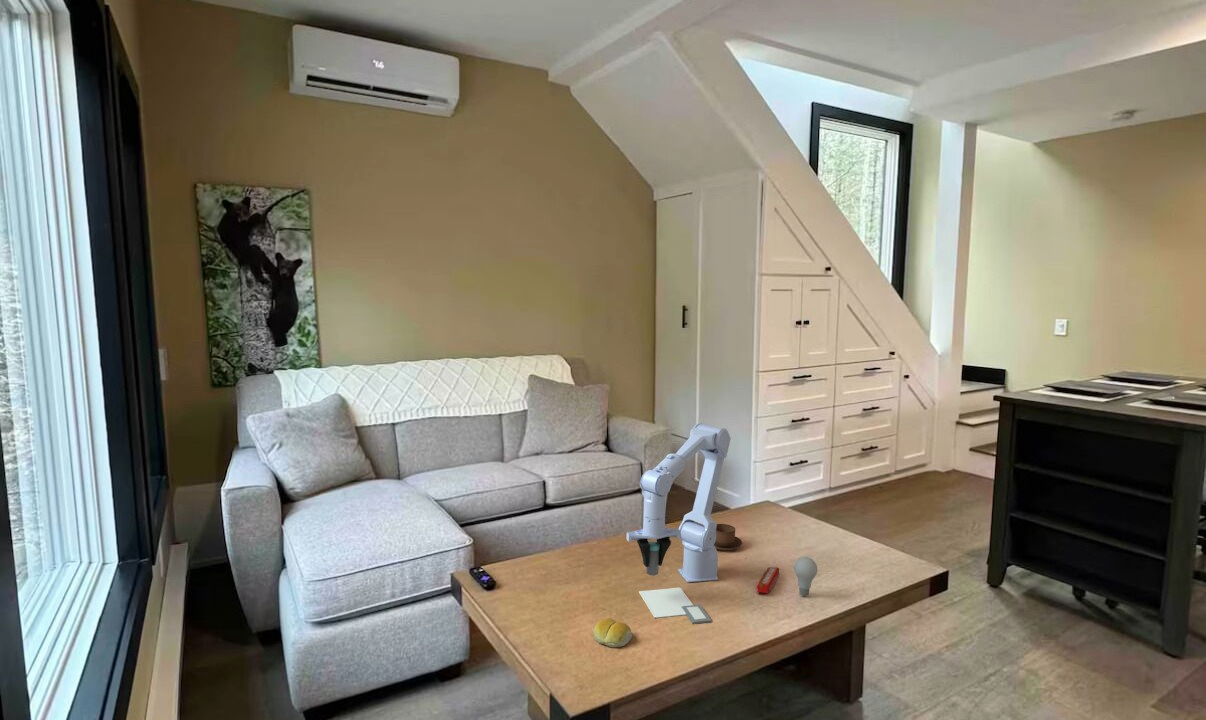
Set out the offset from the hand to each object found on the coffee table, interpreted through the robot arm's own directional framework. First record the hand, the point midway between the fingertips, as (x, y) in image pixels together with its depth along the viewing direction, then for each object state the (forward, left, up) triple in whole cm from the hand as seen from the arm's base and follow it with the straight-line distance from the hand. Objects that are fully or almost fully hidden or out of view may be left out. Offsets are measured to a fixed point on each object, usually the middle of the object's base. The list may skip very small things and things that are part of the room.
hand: (652, 564), depth 170 cm
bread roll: (+15, +17, -10) cm, 25 cm away
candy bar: (-35, -2, -10) cm, 37 cm away
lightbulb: (-42, +7, -9) cm, 43 cm away
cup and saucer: (-34, -29, -10) cm, 45 cm away
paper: (-4, +3, -9) cm, 10 cm away
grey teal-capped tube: (0, 0, -2) cm, 2 cm away
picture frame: (-9, +11, -9) cm, 17 cm away
